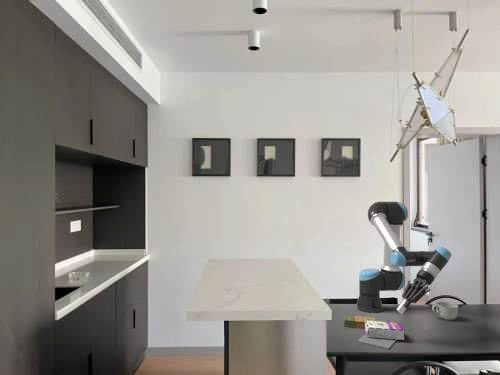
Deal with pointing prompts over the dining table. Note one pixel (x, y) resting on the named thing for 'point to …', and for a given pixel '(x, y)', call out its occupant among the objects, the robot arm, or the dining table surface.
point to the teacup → (446, 310)
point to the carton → (356, 321)
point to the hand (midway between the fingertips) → (399, 311)
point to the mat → (377, 341)
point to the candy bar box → (384, 330)
